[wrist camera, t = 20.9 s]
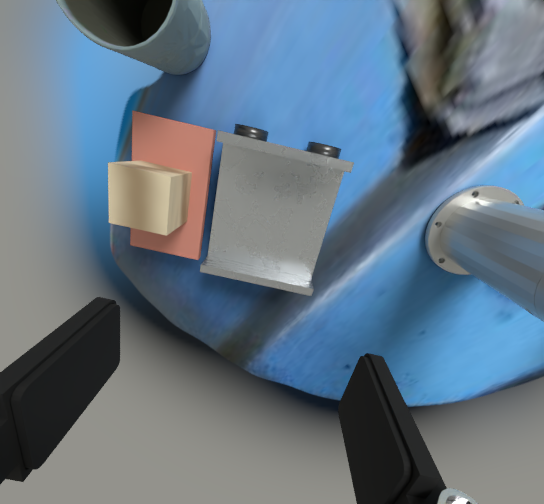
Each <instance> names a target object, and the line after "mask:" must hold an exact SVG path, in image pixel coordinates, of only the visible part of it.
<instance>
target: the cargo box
mask: <svg viewBox="0 0 544 504" xmlns="http://www.w3.org/2000/svg"><path fill="white" fill-rule="evenodd" d="M191 179H192V172H189V171H184V170H180V169H176V168H171V167H167V166H163V165H158V164H154V163H150V162H146V161H125V162H110V163H108V184H109V185H108V189H109V223H112V224H117V225H121V226H126V227H130V228H135V229H139V230H144V231H148V232H152V233H157V234H161V235H166V236H167V235H168V234H170V233H171V232H173V231H174V230H175V229H177V228H178V227H180V226H181V225H182V224H184V223H185V222H187V218H188V208H189V198H190V188H191Z"/></svg>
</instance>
